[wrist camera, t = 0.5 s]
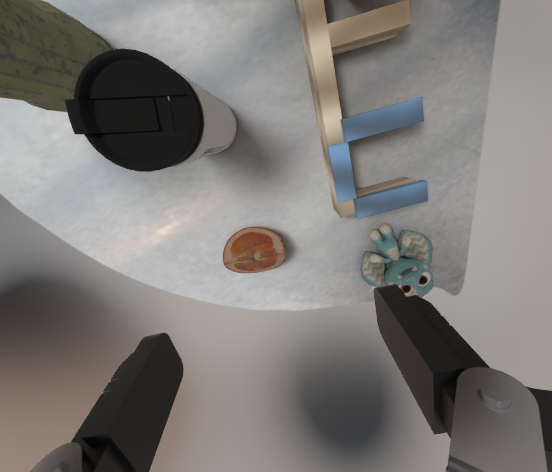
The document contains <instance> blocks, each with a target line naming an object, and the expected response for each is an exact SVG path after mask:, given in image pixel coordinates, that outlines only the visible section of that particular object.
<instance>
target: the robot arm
mask: <svg viewBox="0 0 552 472" xmlns="http://www.w3.org/2000/svg"><path fill="white" fill-rule="evenodd" d="M374 298H375V306H376V314H377V322H378V326H379V329H380V333H381V335H382V337H383V339H384V341H385V343H386V345H387V347H388V349H389V351H390V353H391V354H392V356H393V358H394V360H395V362H396V364H397V366H398V368H399V369H400V371H401V373H402V375H403V377H404V379H405V380H406V382H407V384H408V386H409V388H410V390H411V392H412V393H413V396H414V397H415V399H416V401H417V403H418V405H419V407H420V408H421V410H422V412H423V414H424V416H425V418H426V420H427V422H428V424H429V425H430V427H431V429H432V431H433V433H434V434H440V433H446V432H447V434H448V435H449V437H450V439H451V443H450V451H449V459H448V466H447V467H446V472H552V391H548V390H539V389H533V388H529V387H526V386H524V385H523V384H522V383H521V382H520V381H518V380H516V379H515V378H514V377H511V376H510V375H508V374H506V373H504V372H501V371H498V370H495V369H491V368H490V367H489V366H488V365H487V364H486V363H485V362H484V361H483V360H482V359H481V357H479V355H478V354H477V353H476V352H475V351H474V350H473V349H472V348H471V347H470V346H469V344H468V343H467V342H466V341H465V340H464V339H463V338H462V337H461V336H460V335H459V334H458V332H457V331H455V329H454V328H453V327H452V326H450V325H449V323H448V322H447V321H446V319H445V318H444V317H443V316H441V315H440V313H439V312H438V311H437V310H436V308H435V307H434V306H433V305H432V304H431V303H430V302H428V301H426V300H424V299H422V298H421V297H419V296H417V295H412V296H406V295H405V294H404V293H403V291H402V290H401V289H400V288H399V286H398V285H397V284H392V285H387V286H382V287H378V288H374ZM182 377H183V364H182V360H181V358H180V356H179V354H178V353H177V351H176V349H175V347H174V345H173V343H172V341H171V339H170V337H169V336H168V334H166V333H160V334H156V335H151V336H146V337H144V338H143V339H142V340H141V342H140V343H139V345H138V347H137V348H136V350H135V352H134V353H132V354H131V355H130V356H129V357H128V358H127V359H126V360H125V361H124V362H123V363H122V364H121V365H120V366H119V368H118V369H117V371H116V372H115V374H114V375H113V377H112V379H111V382H109V383H108V385H107V386H106V388H105V389H104V393H103V394H101V396H100V397H99V399H98V401H97V402H96V404H95V405H94V407H93V408H92V410H91V412H90V413H89V415H88V416H87V418H86V419H85V421H84V422H83V424H82V426H81V427H80V429H79V430H78V432H77V433H76V435H75V437H74V438H73V440H72V441H71V443H67V444H64V445H62V446H60V447H58V448H56V449H55V450H53V451H52V452H50V453H49V454H48V455H47V456H45V457H44V458H43V459H42V460H41V461H40V462H39V463H38V464H37V465H36V466H35V467H34V468H33V469H32V470H31V472H149V470H150V467H151V465H152V461H153V459H154V456H155V453H156V450H157V448H158V445H159V442H160V439H161V436H162V434H163V431H164V428H165V425H166V422H167V419H168V417H169V414H170V411H171V408H172V405H173V403H174V400H175V397H176V394H177V391H178V389H179V386H180V383H181V380H182Z"/></svg>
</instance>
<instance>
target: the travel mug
mask: <svg viewBox="0 0 552 472" xmlns="http://www.w3.org/2000/svg"><path fill="white" fill-rule="evenodd" d="M65 104H66V109H67V112H68V116H69V119H70V122H71V125H72V128H73V131H74V133H75V134H84V135H85V136H86V137H87V139H88V140H89V142H90V143H91V144H92V145H93V147H94V148H95V149H96V150H97V151H98V152H99V153H101V154H102V155H103V156H104V157H105V158H107V159H108V160H110V161H112V162H113V163H115V164H116V165H119V166H121V167H124V168H126V169H130V170H135V171H148V172H149V171H155V170H160V169H164V168H167V167H172V166H176V165H180V164H183V163H186V162H189V161H192V160H196V159H199V158H202V157H205V156H208V155H212V154H215V153H218V152H221V151H223V150H225V149H227V148H228V147H229V146H230V145H231V144H232V143H233V141H234V139H235V137H236V133H237V122H236V118H235V115H234V113H233V112H232V110H231V109H230V108H229V106H228V105H227V104H225V103H224V102H223V101H221V100H220V99H218V98H217V97H215V96H214V95H212V94H211V93H209V92H208V91H206V90H205V89H203V88H202V87H200V86H199V85H197V84H196V83H194V82H193V81H191V80H190V79H188V78H187V77H185V76H184V75H183V74H181V73H179V72H178V71H177V70H175V69H173V68H171V67H169V66H167V65H166V64H164V63H163V62H161V61H160V60H158V59H156V58H154V57H152V56H150V55H149V54H146V53H143V52H140V51H136V50H130V49H116V50H109V51H107V52H104V53H102V54H99V55H98V56H96V57H95V58H93V59H92V60H91V61H89V62H88V64H87V65H86V66H85V67H84V68H83V70H82V71H81V73H80V75H79V77H78V79H77V82H76V86H75V91H74V99H66V100H65Z"/></svg>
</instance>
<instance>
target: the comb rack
mask: <svg viewBox="0 0 552 472" xmlns="http://www.w3.org/2000/svg"><path fill="white" fill-rule="evenodd" d="M295 3H296V8H297V14H298V19H299V24H300V30H301V35H302V41H303V46H304V51H305V57H306V62H307V67H308V73H309V78H310V83H311V89H312V94H313V99H314V105H315V110H316V115H317V121H318V126H319V131H320V137H321V142H322V147H323V153H324V158H325V163H326V169H327V174H328V180H329V185H330V190H331V196H332V201H333V206H334V210H335V211H336V212H337V214H338V215H339V216H340V217H341V218H343V217H347V216H351V215H355V216H356V217H357V218H361V217H365V216H369V215H373V214H377V213H381V212H385V211H389V210H393V209H397V208H401V207H405V206H409V205H413V204H417V203H421V202H425V201H428V193H427V181H424V180H420V181H416V180H413V179H410V178H407V177H403V178H399V179H395V180H391V181H387V182H383V183H379V184H376V185H372V186H368V187H364V188H360V189H356V190H355V185H354V178H353V171H352V165H351V158H350V152H349V145H348V142H349V141H353V140H356V139H360V138H364V137H367V136H371V135H375V134H378V133H382V132H386V131H389V130H393V129H397V128H400V127H404V126H408V125H411V124H415V123H419V122H422V121H424V115H423V97H420V98H416V99H412V100H409V101H405V102H402V103H398V104H394V105H391V106H387V107H384V108H380V109H377V110H373V111H369V112H366V113H362V114H359V115H355V116H352V117H348V118H344V119H342V115H341V109H340V102H339V96H338V89H337V83H336V76H335V70H334V63H333V57H332V56H334V55H337V54H341V53H344V52H347V51H351V50H354V49H357V48H361V47H364V46H367V45H371V44H374V43H377V42H381V41H384V40H387V39H391V38H394V37H395V36H396V35H397V34H399V33H400V32H401V31H402V30H404V29H405V28H406V27H407V26H409V25H410V24H411V12H410V0H403V1H400V2H397V3H394V4H391V5H387V6H384V7H381V8H378V9H374V10H371V11H368V12H365V13H362V14H358V15H355V16H352V17H349V18H346V19H342V20H339V21H336V22H333V23H330V24H327V18H326V12H325V5H324V0H295Z"/></svg>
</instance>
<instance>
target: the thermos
mask: <svg viewBox="0 0 552 472" xmlns="http://www.w3.org/2000/svg"><path fill="white" fill-rule="evenodd" d="M109 50H113V49H112V47H111V46H110V45H109V44H108V42H107V41H106V40H104V39H103V38H102V37H100V36H99V35H98V34H96V33H95V32H93V31H92V30H90V29H89V28H87V27H86V26H85V25H83V24H82V23H81V22H79V21H78V20H76V19H74V18H73V17H71V16H69V15H67V14H66V13H64V12H62V11H61V10H59V9H57V8H56V7H54V6H52V5H50V4H49V3H47V2H44V1H41V0H0V97H2V98H9V99H16V100H24V101H26V102H27V103H29V104H31V105H33V106H37V107H40V108H43V109H46V110H54V111H62V112H67V109H66V104H65V100H66V99H74V91H75V86H76V82H77V79H78V77H79V75H80V73H81V71H82V70H83V68H84V67H85V66H86V65H87V64H88V62H89V61H91V60H92V59H93V58H95V57H96V56H98V55H99V54H102V53H104V52H107V51H109Z"/></svg>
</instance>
